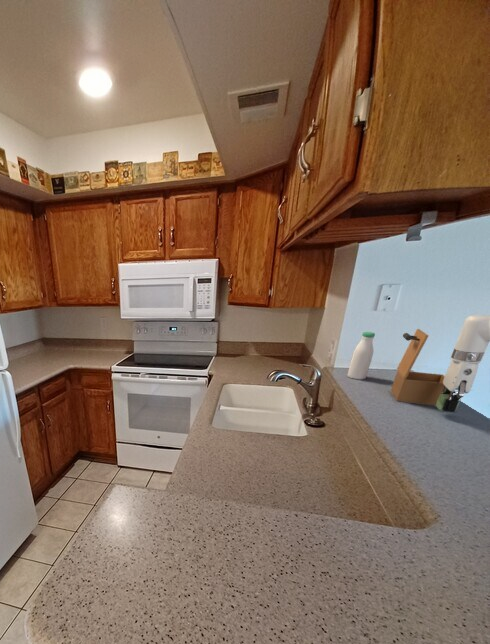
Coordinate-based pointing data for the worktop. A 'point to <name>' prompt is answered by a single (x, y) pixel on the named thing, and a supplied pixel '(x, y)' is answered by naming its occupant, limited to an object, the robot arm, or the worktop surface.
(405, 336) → the flap
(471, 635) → the worktop surface
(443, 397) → the block
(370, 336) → the milk bottle
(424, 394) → the carton
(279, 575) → the worktop surface
